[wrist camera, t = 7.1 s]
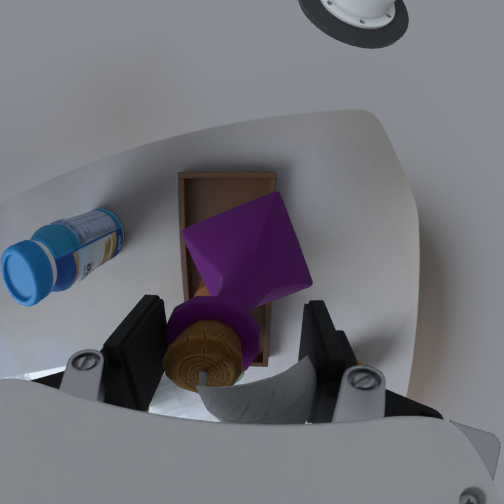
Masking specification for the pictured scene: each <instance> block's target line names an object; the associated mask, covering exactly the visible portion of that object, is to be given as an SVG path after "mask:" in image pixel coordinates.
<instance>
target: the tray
mask: <svg viewBox="0 0 504 504" xmlns="http://www.w3.org/2000/svg"><path fill="white" fill-rule="evenodd" d="M275 178H276V172H181V173H178V194H179V228H180V249H181V266H182V280H183V293H184V302H186V301H188V300H190V299H192V298H193V297H194V295H195V294H196V292H197V290H198V288H199V286H200V284H201V282H202V280H203V279H202V277H201V275H200V273H199V271H198V269H197V267H196V265H195V263H194V261H193V259H192V256H191V254H190V252H189V250H188V248H187V246H186V244H185V241H184V239H183V237H182V235H181V231H182V230H183V229H185V228H187V227H189V226H191V225H194V224H196V223H198V222H201V221H203V220H205V219H208V218H210V217H213V216H215V215H217V214H220V213H222V212H225V211H227V210H229V209H232V208H234V207H237V206H239V205H242V204H244V203H247V202H249V201H252V200H254V199H257V198H259V197H262V196H264V195H267V194H269V193H272V192H275V190H276V179H275ZM251 315H252V316H253V318H254V319H255V321H256V322H257V324H258V325H259V326H260V352H259V353H258V355H257V356H256V358H255V359H254V360H253V362H252V363H251V365H250V366H259V367H268V356H269V339H270V320H271V302H268V303H266V304H263V305H260V306H257V307H255V309H254V310H253V312H252V313H251Z"/></svg>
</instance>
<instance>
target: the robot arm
mask: <svg viewBox="0 0 504 504" xmlns="http://www.w3.org/2000/svg"><path fill="white" fill-rule="evenodd" d="M320 1H321V2H322V4H323V6H324V7H325V8H326V9H327V10H328V11H329V12H330V13H331V14H333V15H334V16H335V17H337V18H338V19H340V20H342V21H344V22H346V23H348V24H350V25H353V26H356V27H360V28H365V29H378V28H382V27H384V26H386V25H388V24H389V23H390V22H391V21H392V19H393V18H394V15H395V6H394V2H395V1H396V0H320ZM166 325H167V322H166V315H165V308H164V301H163V299H160V298H159V296H158V295H144V297H143V298H142V299H141V300H140V301H139V302H138V304H137V305H136V306H135V307H134V308H133V309H132V311H131V312H130V313H129V314H128V315H127V317H126V318H125V319H124V320H123V321H122V323H121V324H120V325H119V326H118V327H117V329H116V330H115V331H114V332H113V333H112V335H111V336H110V337H109V338H108V340H107V341H106V342H105V343H104V344H103V348H102V349H101V351H100V352H99V351H97V350H93V349H87V350H82V351H79V352H77V353H75V354H73V355H72V356H71V357H70V359H69V361H68V363H67V366H66V369H65V371H62V372H59V373H56V374H52V375H49V376H45V377H42V378H38V379H34V380H31V381H27V380H21V379H0V504H502V502H501V500H500V497H499V495H498V492H497V490H496V488H495V485H494V483H493V480H494V475H495V472H496V467H497V462H498V457H499V453H500V442H499V439H498V438H497V437H496V436H495V435H494V434H492V433H489V432H485V431H482V430H479V429H476V428H472V427H469V426H466V425H462V424H460V423H456V422H454V421H451V420H450V421H449V422H448V421H446V420H444V419H443V417H442V415H441V414H440V413H439V412H438V411H436V410H434V409H433V408H430V407H428V406H425V405H423V404H420V403H418V402H415V401H413V400H411V399H408V398H406V397H403V396H401V395H399V394H396V393H394V392H392V391H389V390H387V389H385V386H386V381H385V377H384V375H383V374H382V372H380V371H379V370H378V369H376V368H374V367H371V366H367V365H358V362H357V360H356V358H355V355H354V353H353V351H352V348H351V346H350V344H349V342H348V339H347V337H346V335H345V333H344V331H343V330H335V327H334V325H333V322H332V320H331V317H330V315H329V313H328V310H327V308H326V305H325V303H324V301H323V300H310V301H309V304H305V305H304V312H303V322H302V331H301V340H300V349H299V357H298V362H299V361H301V360H302V359H303V358H305V357H306V356H307V355H308V357H309V359H310V361H311V363H312V365H313V367H314V369H315V372H316V379H317V384H316V391H315V395H314V399H313V402H312V406H311V409H310V413H309V416H308V418H307V423H312V424H287V425H268V424H240V423H224V422H212V421H202V420H193V419H185V418H178V417H171V416H165V415H159V414H153V413H148V412H143V411H147V409H148V407H149V405H150V402H151V400H152V398H153V396H154V393H155V391H156V389H157V387H158V384H159V382H160V380H161V378H162V375H163V373H164V371H165V369H164V366H163V362H162V360H163V358H164V356H165V354H166V352H167V349H168V345H167V339H166V334H165V328H166Z"/></svg>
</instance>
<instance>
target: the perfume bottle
mask: <svg viewBox="0 0 504 504" xmlns="http://www.w3.org/2000/svg"><path fill="white" fill-rule="evenodd" d="M181 235H182V237H183V239H184V241H185V244H186V246H187V248H188V250H189V252H190V254H191V256H192V259H193V261H194V263H195V265H196V267H197V269H198V271H199V273H200V275H201V277H202V279H203V282H204V284H205V286H206V288H207V290H208V292H209V294H210V296H195V297H193V298H192V299H190V300H188V301H186V302H184V303H182V304H180V305H178V306H177V307H175V308H174V310H173V312H172V314H171V316H170V319H169V321H168V323H167V325H166V328H165V334H166V339H167V345H168V349H167V352H166V354H165V356H164V358H163V360H162V362H163V366H164V369H165V373H166V376H167V377H168V378H169V379H170V380H172V381H173V382H174V383H175V384H176V385H177V386H178V387H180V388H183V389H186V390H189V391H193V392H196V393H199V394H200V396H201V398H202V400H203V402H204V404H205V406H206V408H207V410H208V411H209V412H210V413H211V414H212V415H213V416H215V417H216V418H217V419H218V420H219V421H220V422H224V423H240V424H268V425H287V424H305V422H306V420H307V418H308V416H309V413H310V409H311V406H312V402H313V399H314V395H315V391H316V384H317V379H316V372H315V369H314V367H313V365H312V363H311V361H310V359H309V357H308V355H307V356H306V357H305V358H303V359H302V360H301V361H299V362H298V363H296V364H295V365H294V366H292V367H291V368H289V369H288V370H286V371H285V372H282V373H280V374H278V375H275V376H273V377H270V378H266V379H263V380H259V381H255V382H251V383H247V384H241V385H234V384H235V382H236V381H237V379H238V378H239V377H240V375H241V374H242V372H243V371H245V370H247V369H248V367H249V366H250V365H251V363H252V362H253V360H254V359H255V358H256V356H257V355H258V353H259V352H260V326H259V325H258V324H257V322H256V321H255V319H254V318H253V316H252V315H251V313H252V312H253V310H254V309H255V307H257V306H260V305H263V304H266V303H268V302H271V301H274V300H276V299H279V298H282V297H284V296H287V295H290V294H292V293H295V292H298V291H300V290H303V289H305V288H308V287H310V286H311V285H312V283H313V281H312V278H311V276H310V273H309V270H308V267H307V264H306V261H305V259H304V256H303V253H302V250H301V248H300V245H299V242H298V239H297V237H296V234H295V231H294V229H293V226H292V223H291V221H290V218H289V215H288V213H287V210H286V207H285V205H284V202H283V200H282V197H281V195H280V193H279V192H278V191H275V192H272V193H269V194H267V195H264V196H262V197H259V198H257V199H254V200H252V201H249V202H247V203H244V204H242V205H239V206H237V207H234V208H232V209H229V210H227V211H225V212H222V213H220V214H217V215H215V216H213V217H210V218H208V219H205V220H203V221H201V222H198V223H196V224H194V225H191V226H189V227H187V228H185V229H183V230H182V231H181ZM232 385H233V386H232Z"/></svg>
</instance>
